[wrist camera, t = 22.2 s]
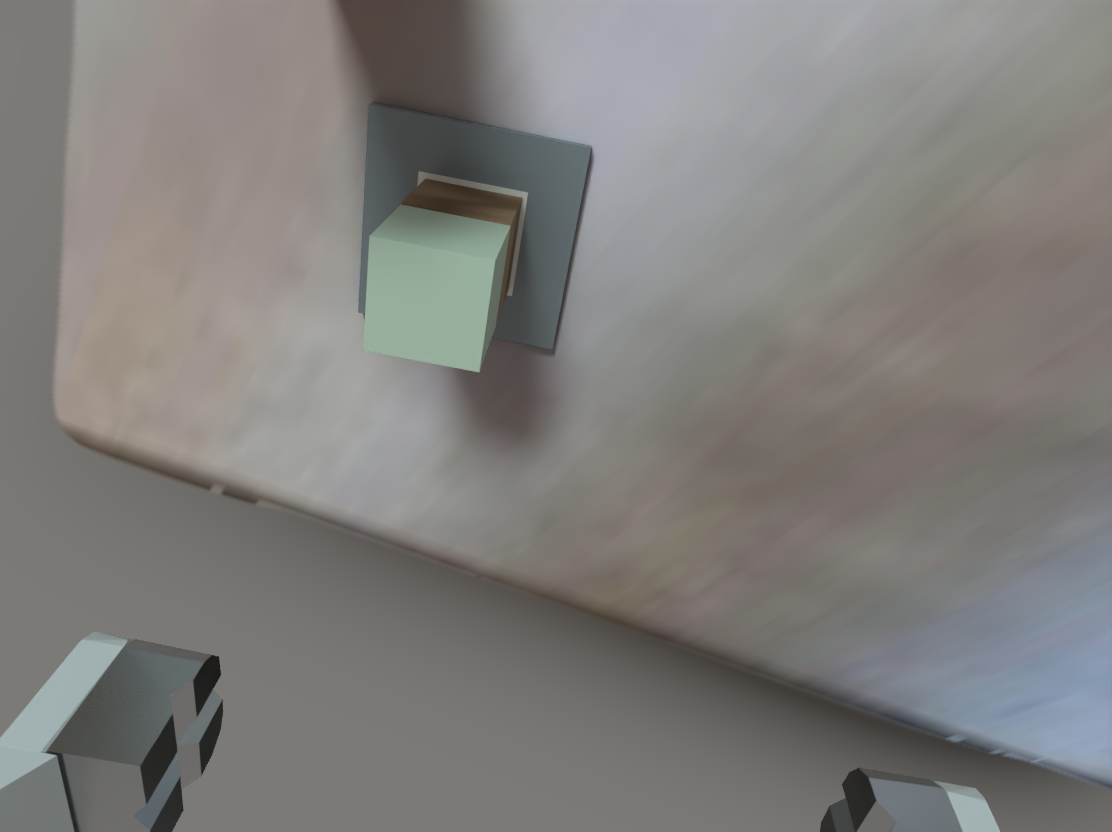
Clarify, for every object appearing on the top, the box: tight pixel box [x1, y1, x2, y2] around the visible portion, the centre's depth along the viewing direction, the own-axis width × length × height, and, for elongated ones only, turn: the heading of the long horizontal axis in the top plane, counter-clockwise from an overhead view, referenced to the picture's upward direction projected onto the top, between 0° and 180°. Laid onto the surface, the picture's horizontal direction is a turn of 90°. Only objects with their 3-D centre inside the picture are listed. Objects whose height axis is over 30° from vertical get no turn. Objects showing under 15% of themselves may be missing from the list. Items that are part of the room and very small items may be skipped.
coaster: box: [358, 102, 592, 350], centre depth 40 cm, size 11×11×1 cm
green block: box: [363, 204, 511, 372], centre depth 33 cm, size 5×5×5 cm
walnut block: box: [401, 179, 523, 324], centre depth 38 cm, size 5×5×5 cm
